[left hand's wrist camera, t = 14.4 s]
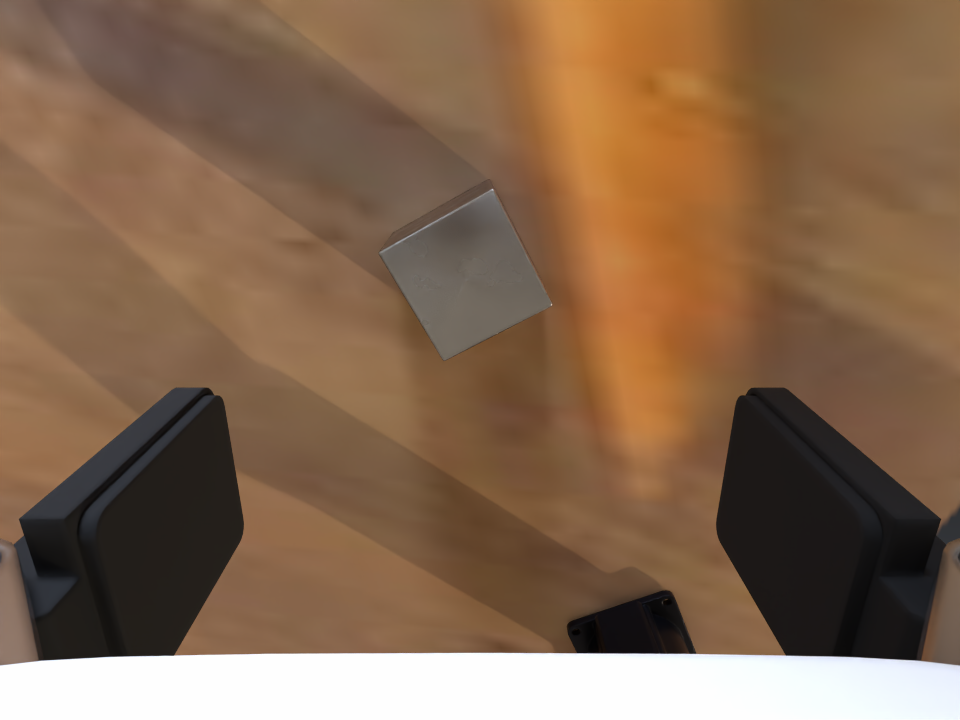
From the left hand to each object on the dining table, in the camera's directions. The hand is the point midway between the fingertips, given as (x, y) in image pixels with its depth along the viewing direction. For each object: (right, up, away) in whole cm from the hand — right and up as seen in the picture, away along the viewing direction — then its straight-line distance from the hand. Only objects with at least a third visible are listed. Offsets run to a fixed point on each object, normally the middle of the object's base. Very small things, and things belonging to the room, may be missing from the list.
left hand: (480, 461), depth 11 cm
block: (-1, +7, +17) cm, 18 cm away
